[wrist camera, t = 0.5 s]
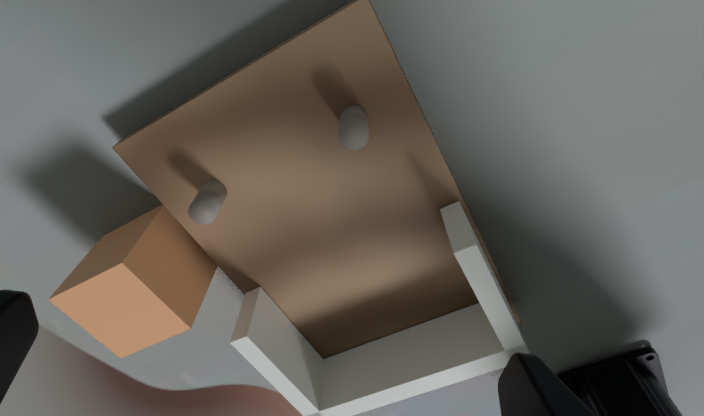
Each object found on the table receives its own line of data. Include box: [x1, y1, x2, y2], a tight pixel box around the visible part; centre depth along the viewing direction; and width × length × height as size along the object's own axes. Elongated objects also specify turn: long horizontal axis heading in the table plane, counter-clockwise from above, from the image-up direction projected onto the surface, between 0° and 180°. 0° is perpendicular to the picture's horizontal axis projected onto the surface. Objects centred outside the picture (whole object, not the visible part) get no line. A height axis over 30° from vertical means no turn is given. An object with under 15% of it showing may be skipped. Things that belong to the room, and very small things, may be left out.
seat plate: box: [112, 0, 521, 359], centre depth 22 cm, size 20×13×3 cm, turn 29°
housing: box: [230, 201, 530, 416], centre depth 23 cm, size 8×13×4 cm, turn 119°
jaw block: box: [48, 204, 218, 358], centre depth 22 cm, size 4×4×5 cm
